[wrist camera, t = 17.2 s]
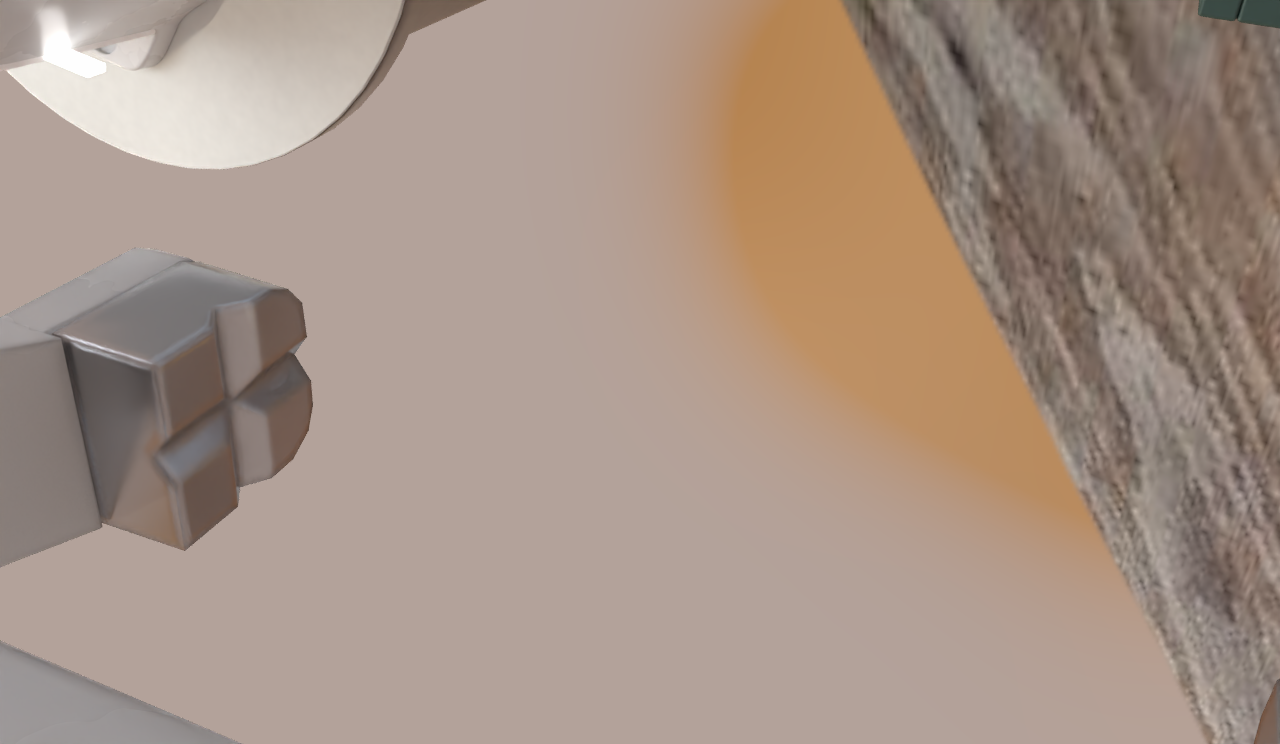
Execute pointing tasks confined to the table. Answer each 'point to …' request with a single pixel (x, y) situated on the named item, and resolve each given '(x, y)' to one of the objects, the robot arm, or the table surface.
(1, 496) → the robot arm
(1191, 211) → the table surface
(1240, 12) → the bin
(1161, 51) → the table surface
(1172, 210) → the table surface
